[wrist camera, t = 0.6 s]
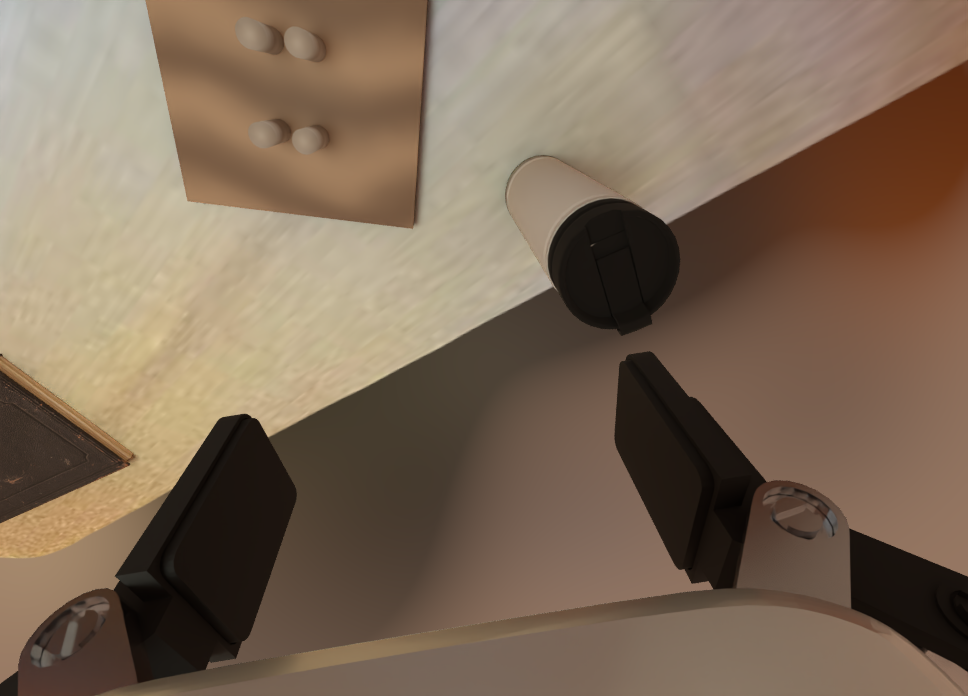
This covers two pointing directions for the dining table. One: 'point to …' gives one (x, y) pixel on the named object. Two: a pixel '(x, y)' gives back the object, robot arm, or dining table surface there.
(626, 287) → the travel mug
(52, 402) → the hardcover book
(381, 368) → the dining table surface
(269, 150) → the peg board
